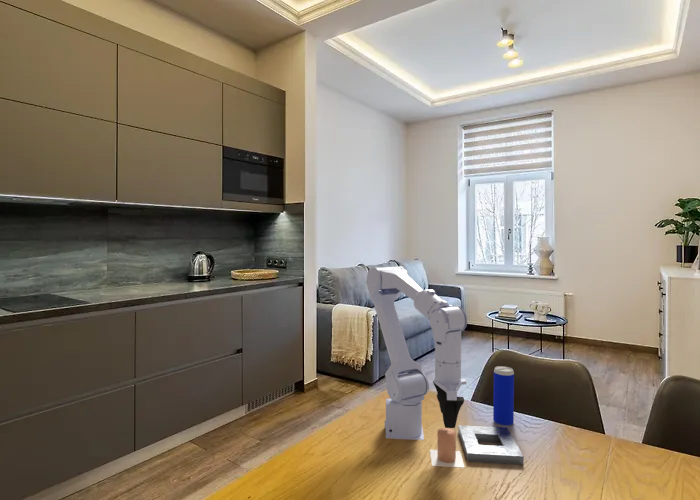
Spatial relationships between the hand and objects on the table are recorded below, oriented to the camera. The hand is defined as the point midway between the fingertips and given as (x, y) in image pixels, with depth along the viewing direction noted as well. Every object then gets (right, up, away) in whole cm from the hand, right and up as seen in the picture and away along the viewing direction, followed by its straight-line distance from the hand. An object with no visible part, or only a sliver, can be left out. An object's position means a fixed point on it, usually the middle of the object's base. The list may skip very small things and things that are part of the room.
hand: (447, 419), depth 95 cm
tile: (0, -9, 0) cm, 9 cm away
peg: (0, -9, 0) cm, 9 cm away
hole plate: (+11, -9, +5) cm, 15 cm away
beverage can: (+20, -9, +19) cm, 29 cm away
